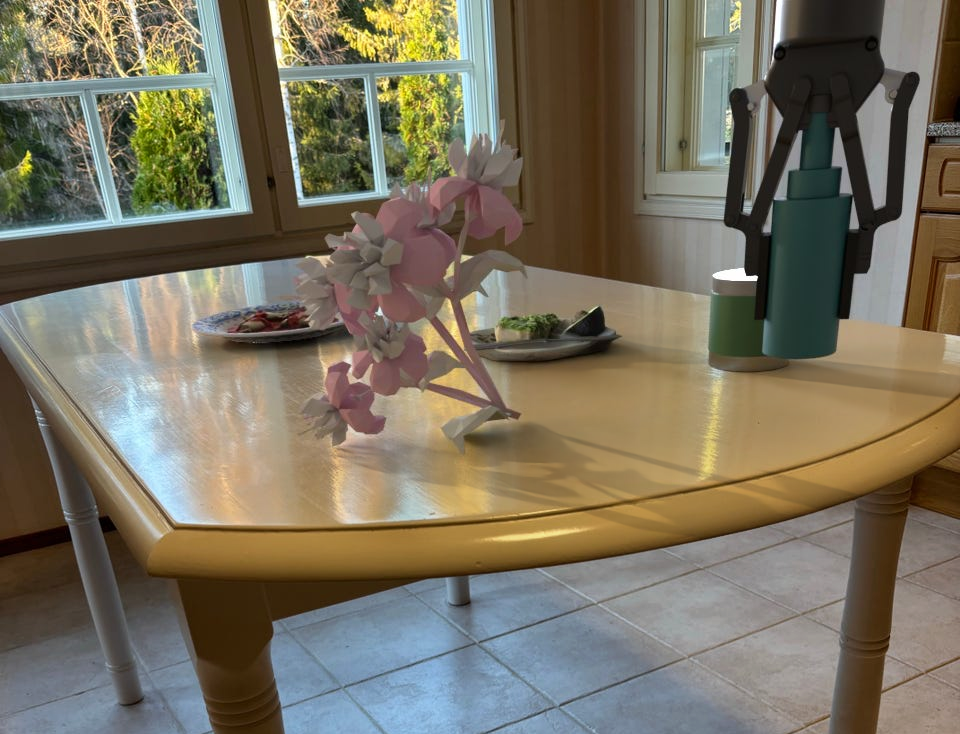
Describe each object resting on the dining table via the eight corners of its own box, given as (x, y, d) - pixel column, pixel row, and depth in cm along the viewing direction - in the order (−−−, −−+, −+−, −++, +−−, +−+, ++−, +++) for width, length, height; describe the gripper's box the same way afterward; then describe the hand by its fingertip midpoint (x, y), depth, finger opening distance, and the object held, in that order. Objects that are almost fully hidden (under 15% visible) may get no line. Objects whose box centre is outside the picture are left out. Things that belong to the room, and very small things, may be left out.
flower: (418, 374, 98) (298, 142, 81) (609, 366, 86) (516, 90, 68) (322, 509, 89) (164, 280, 72) (520, 522, 77) (387, 249, 59)
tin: (793, 354, 102) (801, 267, 98) (785, 372, 95) (794, 280, 91) (713, 353, 105) (718, 268, 101) (701, 371, 98) (705, 281, 94)
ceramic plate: (363, 344, 123) (360, 320, 121) (171, 356, 124) (166, 333, 122) (381, 310, 145) (379, 290, 144) (219, 321, 146) (215, 301, 145)
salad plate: (499, 376, 102) (497, 332, 100) (428, 351, 116) (425, 313, 113) (641, 348, 109) (642, 307, 107) (558, 328, 123) (557, 292, 121)
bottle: (837, 343, 81) (865, 90, 71) (834, 359, 76) (863, 90, 67) (766, 343, 83) (784, 98, 73) (758, 359, 78) (776, 98, 69)
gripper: (689, -6, 67) (680, 326, 78) (983, -44, 60) (927, 324, 71) (706, 3, 73) (695, 309, 84) (975, -31, 66) (924, 306, 78)
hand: (801, 316), depth 78 cm, fingers closed on bottle, 6 cm apart
